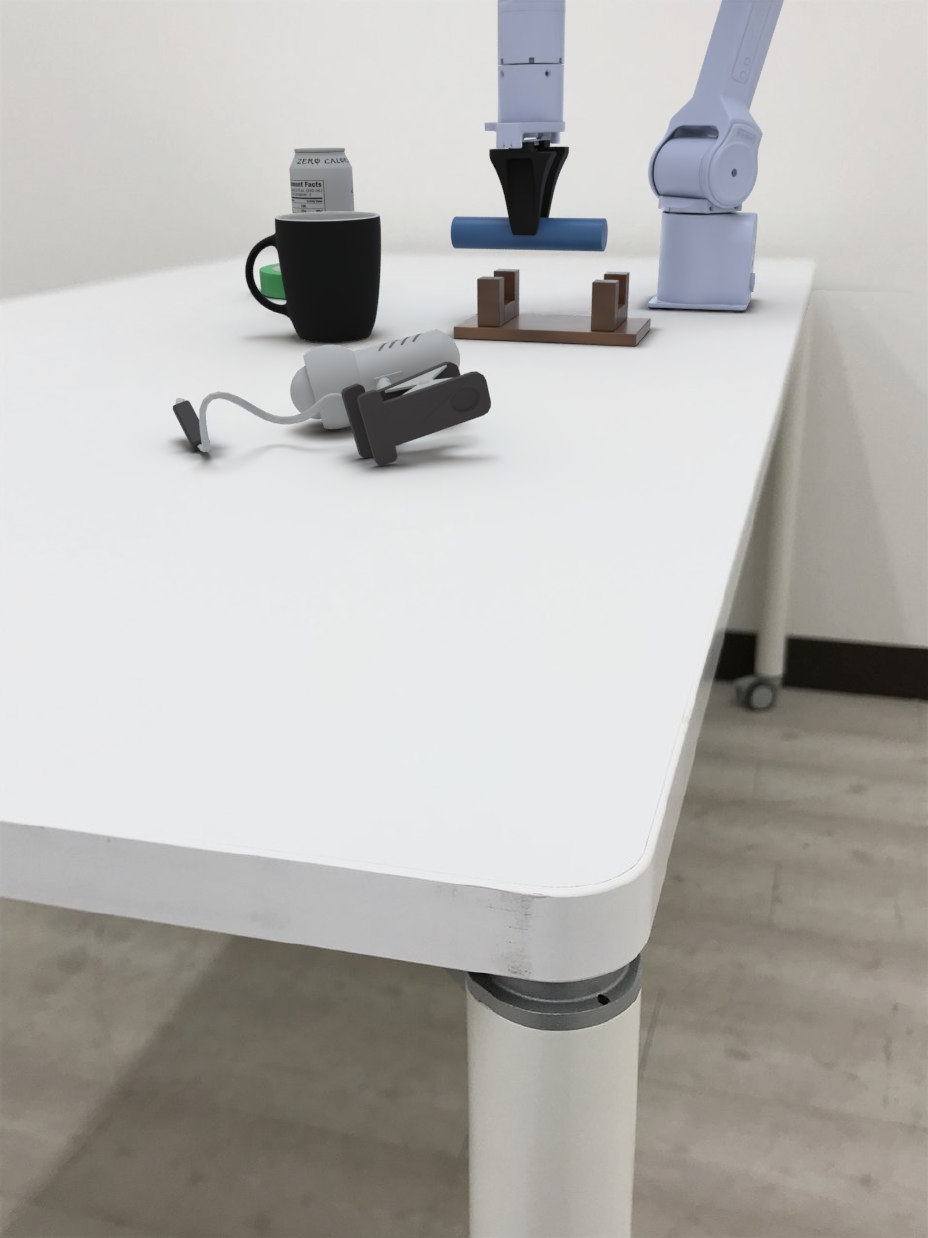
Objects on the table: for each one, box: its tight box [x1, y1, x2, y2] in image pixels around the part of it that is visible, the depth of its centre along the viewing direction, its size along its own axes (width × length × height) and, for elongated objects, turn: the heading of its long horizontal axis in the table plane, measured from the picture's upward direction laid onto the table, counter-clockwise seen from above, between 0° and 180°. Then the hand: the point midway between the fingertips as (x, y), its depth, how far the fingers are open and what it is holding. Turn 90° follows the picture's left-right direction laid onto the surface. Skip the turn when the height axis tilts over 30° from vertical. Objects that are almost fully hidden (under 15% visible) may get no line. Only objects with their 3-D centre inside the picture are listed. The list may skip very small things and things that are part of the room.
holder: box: [453, 268, 652, 347], centre depth 97 cm, size 16×8×5 cm, turn 73°
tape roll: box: [258, 262, 286, 300], centre depth 123 cm, size 11×11×3 cm
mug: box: [244, 211, 382, 344], centre depth 96 cm, size 12×9×10 cm
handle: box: [450, 215, 609, 253], centre depth 100 cm, size 14×3×3 cm, turn 72°
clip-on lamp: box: [172, 329, 492, 467], centre depth 65 cm, size 12×6×18 cm
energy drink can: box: [288, 147, 355, 214], centre depth 109 cm, size 6×6×15 cm
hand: (529, 233), depth 100 cm, fingers closed on handle, 3 cm apart
